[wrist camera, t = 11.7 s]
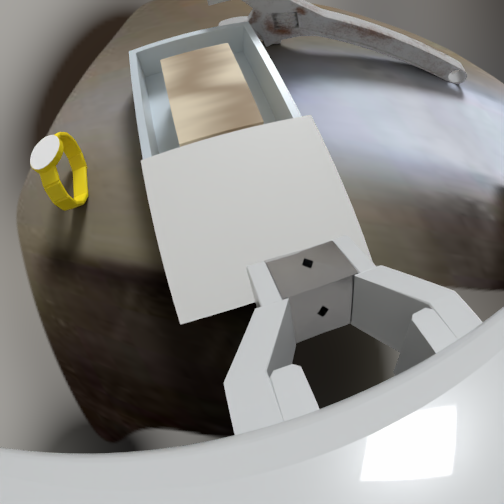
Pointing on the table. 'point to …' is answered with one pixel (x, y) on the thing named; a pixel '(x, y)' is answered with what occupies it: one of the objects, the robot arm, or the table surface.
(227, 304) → the riser
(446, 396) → the robot arm
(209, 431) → the table surface
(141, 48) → the tray
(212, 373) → the table surface
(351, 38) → the wrench
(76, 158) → the watch
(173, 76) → the block
